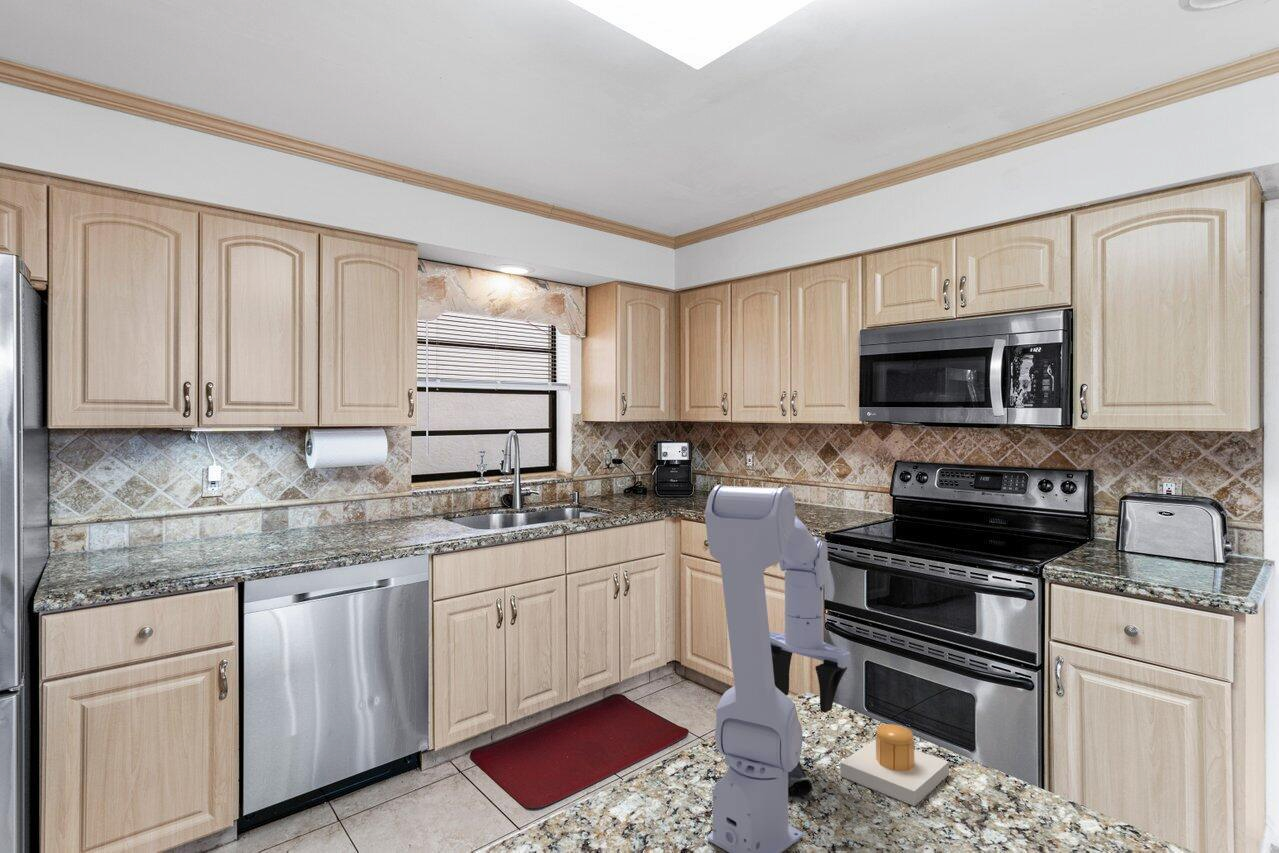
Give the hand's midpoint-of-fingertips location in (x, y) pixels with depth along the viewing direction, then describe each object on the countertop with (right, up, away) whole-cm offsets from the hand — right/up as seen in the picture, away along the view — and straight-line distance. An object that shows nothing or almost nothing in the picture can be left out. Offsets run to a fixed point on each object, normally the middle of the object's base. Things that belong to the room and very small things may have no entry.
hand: (804, 702), depth 99 cm
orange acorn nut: (+13, -7, -3) cm, 15 cm away
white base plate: (+13, -9, -3) cm, 16 cm away
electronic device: (-5, -10, -2) cm, 12 cm away
